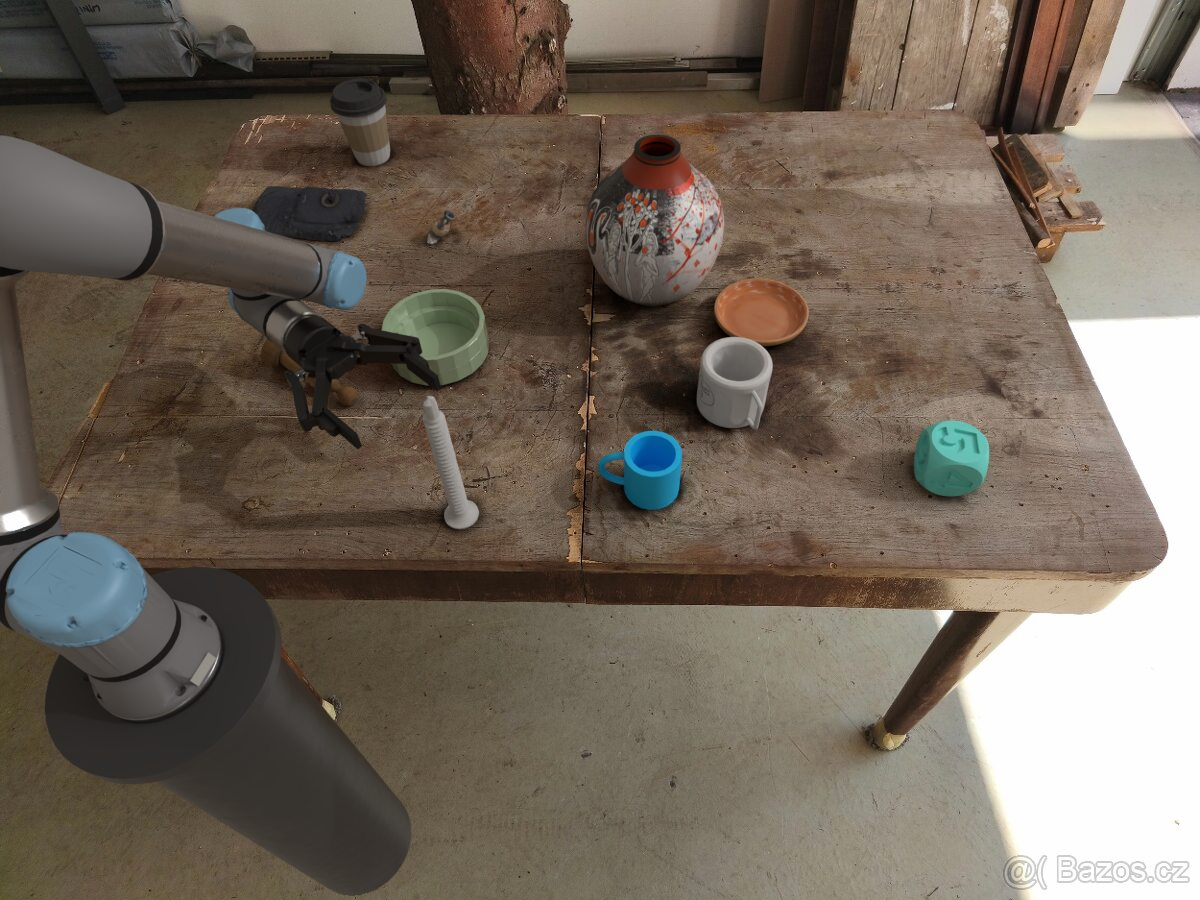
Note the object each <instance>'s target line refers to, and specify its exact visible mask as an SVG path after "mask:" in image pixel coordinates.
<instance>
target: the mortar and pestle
mask: <svg viewBox="0 0 1200 900" xmlns="http://www.w3.org/2000/svg"><path fill="white" fill-rule="evenodd" d="M260 358H261V361H262V362H263V363H264V364H266V366H269V367H270V368H272V369H274V370H277V371H282V370H286V369H287V370H291V371H293V372H296V371H298V370H300V369H302V368H301V367H300V366H299V365H298V364H297V363H295V362H294V361H293V360H292V359H291V358H290V357H289V356H287V355H286V354H285V353H284V352H283V351H281V350H280V349H279V348H278V347H277V346H275V345H274V344H273V343H272V342H271V341H269V340H268V339H267V338H266V340H265V341H264V342H263V344H262V347H261V350H260ZM315 382H316V378H309V377H306V378H305V383H308V385H310V386H311V387H312V388H314V389H315ZM334 393H335V394H336V395H337V397H338V400H339V401H340V403H341V404H342V405H344V406H346V407H351V406H354V405H356V404H357V403H358V401H359V399H360V398H359V397H360V396H359V392H358V391H357V389H355V388H354V387H351V386H342V385H341V382H340V381H339V380H338V379H332V386H331V390H330V392H329V394H334Z"/></svg>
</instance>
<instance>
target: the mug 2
mask: <svg viewBox="0 0 1200 900" xmlns="http://www.w3.org/2000/svg"><path fill="white" fill-rule="evenodd" d="M773 365H774V364H773V359H772V357H771V355H770V353H769V352H768V350H767V349H766V348H765V347H764V346H761V345H760V344H758V343H756V342H754V341H752V340H750V339H746V338H741V337H731V336H729V337H723V338H720V339H717V340H715V341H713V342H711V343H710V344H709V345H708V346H707V347H706V348H705V349H704V351H703V352H702V354H701V357H700V364H699V373H698V382H697V391H696V405H697V409H698V411H699V413H700V414H701V415H702V417H704V419H706V421H708V422H710V423H712V424H714V425H715V426H718V427H722V428H727V429H739V428H745V427H747V426H749V427H750V428H751V429H752V430H758V429H759V426H760V422H761V417H762V414H763V412H764V410H765V405H766V401H767V395H768V390H769V387H770V386H769V385H770V381H771V378H772V373H773V369H774V368H773V367H774V366H773Z"/></svg>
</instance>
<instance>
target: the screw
mask: <svg viewBox="0 0 1200 900" xmlns="http://www.w3.org/2000/svg"><path fill="white" fill-rule="evenodd" d="M422 407H423V411H424V414H423V415H422V422H423V425H424V428H425V431H426V434H427V437H428V441H429V445H430V449H431V451H432V455H433V458H434V461H435V464H436V468H437V471H438V474H439V478H440V481H441V485H442V487H443V491H444V494H445V496H446V497H445V499H446V500H447V504H448V505H447V506H446V508H445V509H444V513H443V516H444V517H443V518H444V521H445V524H447V526H448V527H450V528H451V529H455V530H465V529H467V528H470V527H472V526H473V525H474V524H475V523H476V522H477V521H478V519H479V516H480V512H479V508H478V505H477V504H476V503H475V502H473V501H472V500H469V499H468V497H467V493H466V490H465V486H464V483H463V479H462V476H461V471H460V468H459V464H458V460H457V457H456V452H455V449H454V446H453V443H452V437H451V435H450V430H449V426H448V423H447V420H446V416H445V414H444V412H443V411H441V410H440V409H439V406H438V402H437V400H436V397H435V396H433V395H426V399H425V400H424V401H423V405H422Z"/></svg>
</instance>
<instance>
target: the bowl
mask: <svg viewBox="0 0 1200 900" xmlns="http://www.w3.org/2000/svg"><path fill="white" fill-rule="evenodd" d="M381 330H382V331H388V332H393V333H398V334H403V335H408V336H413V337H417V338H419V341H420V344H421V348H422V354H420V356H422V357H423V358H424V359H426V360H427V361H428V364H429V368H430V370H432V371H433V372H434V373H436V374H437V375H438V378H439V381H440V385H441V386H444V385H445V386H446V385H448V384H452V383H456V382H459V381H461V380H463V379H465V378H466V377H468V376H471V375H472V374H474V373H475V372H476V371H477V370H478V369H479V368H480V367H481V366H482V365H483V364H484V362H485V360H486V358H487V357H488V354H489V350H490V349H489V348H490V339H489V334H488V328H487V323H486V317H485V314H484V311H483V309H482V306H481V304H479V302H477V300H476V299H474V298H473V297H472V296H470V295H468V294H466V293H464V292H462V291H459V290H453V289H449V288H435V289H434V288H431V289H427V290H421V291H418V292H415V293H412V294H411V295H409V296H406V297H404V298H402V299H400V300H399V301H398V302H397V303H396V304H394V305H393V306H392V307H391V308H390V309H389V310H388V312H387V314H386V315H385V317H384V318H383V321H382V326H381ZM391 366H392V368H393V369H394V370H395V372H396V373H397V375H399V376H400V377H401V378H403V379H405V380H407V381H408V382H410V383H412V384H417V385H422V386H429V385H428V384H427V383H425V382H424V381H423V380H421V379H420V378H419V377H417V376H416V375H415V374H414V373H412V372H411V371H410V370H408V369H407V366H406V364H391ZM429 387H430V386H429Z"/></svg>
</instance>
